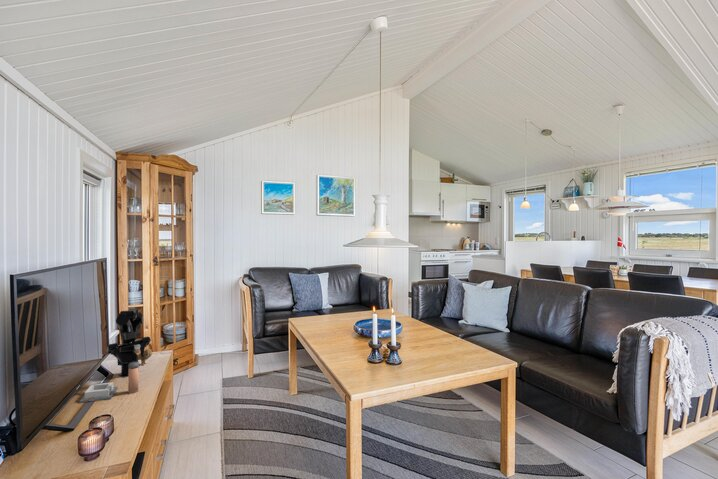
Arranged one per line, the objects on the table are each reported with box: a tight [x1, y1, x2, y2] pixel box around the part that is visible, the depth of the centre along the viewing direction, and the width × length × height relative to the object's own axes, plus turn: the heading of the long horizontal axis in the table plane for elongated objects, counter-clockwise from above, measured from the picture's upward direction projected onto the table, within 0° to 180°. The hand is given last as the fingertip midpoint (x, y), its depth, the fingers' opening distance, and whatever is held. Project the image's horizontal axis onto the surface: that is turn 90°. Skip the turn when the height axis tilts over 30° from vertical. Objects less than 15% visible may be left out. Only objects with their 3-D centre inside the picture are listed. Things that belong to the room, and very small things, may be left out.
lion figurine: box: [136, 348, 153, 367], centre depth 209 cm, size 15×5×9 cm, turn 93°
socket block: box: [79, 381, 119, 404], centre depth 169 cm, size 12×12×4 cm
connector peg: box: [127, 361, 140, 394], centre depth 174 cm, size 4×4×14 cm
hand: (132, 360), depth 179 cm, fingers open, 9 cm apart
